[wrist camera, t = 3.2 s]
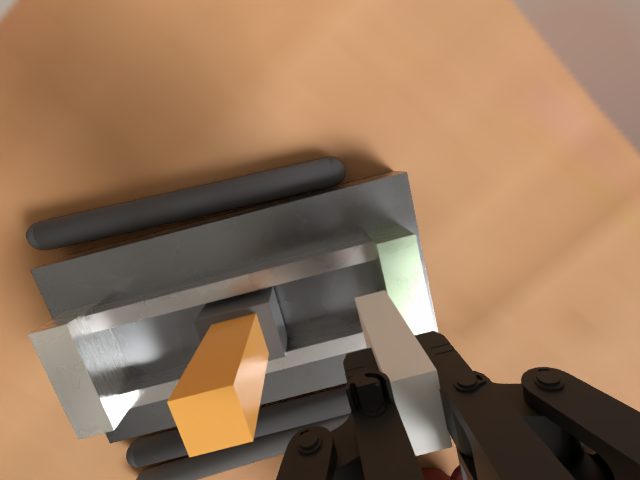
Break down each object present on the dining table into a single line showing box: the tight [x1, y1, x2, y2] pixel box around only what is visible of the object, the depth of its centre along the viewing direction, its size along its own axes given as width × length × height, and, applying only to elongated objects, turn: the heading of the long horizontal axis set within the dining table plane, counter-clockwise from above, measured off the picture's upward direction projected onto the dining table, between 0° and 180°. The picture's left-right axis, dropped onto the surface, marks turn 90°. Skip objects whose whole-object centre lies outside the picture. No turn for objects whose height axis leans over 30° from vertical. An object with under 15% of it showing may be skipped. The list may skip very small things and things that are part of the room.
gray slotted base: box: [28, 171, 438, 443], centre depth 21 cm, size 22×12×6 cm, turn 104°
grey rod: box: [126, 386, 351, 467], centre depth 25 cm, size 24×2×2 cm, turn 104°
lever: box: [167, 286, 288, 458], centre depth 17 cm, size 4×3×8 cm
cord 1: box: [26, 157, 345, 250], centre depth 22 cm, size 20×2×2 cm, turn 102°
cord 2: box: [136, 414, 350, 480], centre depth 26 cm, size 25×2×2 cm, turn 107°
